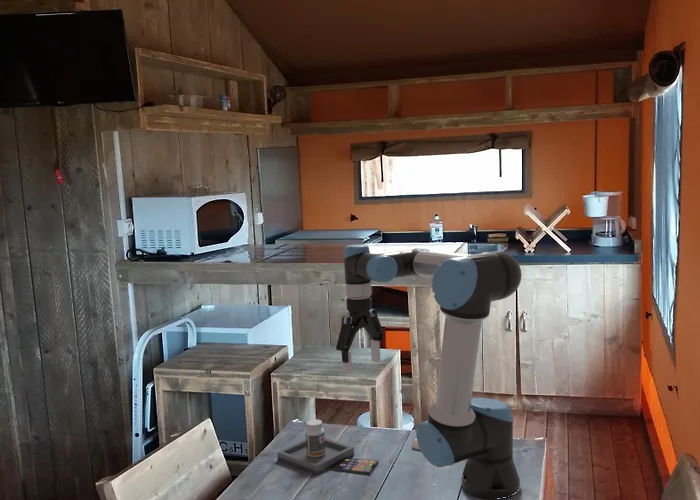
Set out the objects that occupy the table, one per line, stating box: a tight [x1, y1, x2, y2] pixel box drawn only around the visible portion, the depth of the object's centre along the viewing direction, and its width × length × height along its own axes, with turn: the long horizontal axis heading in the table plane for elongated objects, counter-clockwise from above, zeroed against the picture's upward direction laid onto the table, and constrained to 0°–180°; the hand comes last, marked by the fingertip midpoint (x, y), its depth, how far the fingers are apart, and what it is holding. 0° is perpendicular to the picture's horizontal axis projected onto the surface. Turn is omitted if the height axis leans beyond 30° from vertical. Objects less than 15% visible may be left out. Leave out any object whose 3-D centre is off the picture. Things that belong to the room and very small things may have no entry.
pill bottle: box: [305, 418, 326, 458], centre depth 205 cm, size 6×6×10 cm
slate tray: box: [276, 437, 355, 475], centre depth 206 cm, size 16×16×2 cm
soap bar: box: [410, 437, 421, 451], centre depth 212 cm, size 5×9×3 cm, turn 146°
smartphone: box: [325, 457, 379, 476], centre depth 199 cm, size 8×15×1 cm, turn 71°
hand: (362, 367), depth 207 cm, fingers open, 13 cm apart
